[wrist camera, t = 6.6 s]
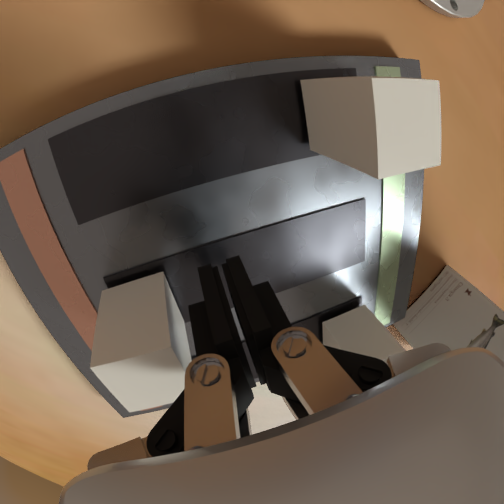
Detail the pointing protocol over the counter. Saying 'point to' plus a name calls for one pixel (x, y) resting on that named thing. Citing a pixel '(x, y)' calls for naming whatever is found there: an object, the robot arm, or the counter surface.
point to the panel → (205, 203)
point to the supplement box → (454, 317)
